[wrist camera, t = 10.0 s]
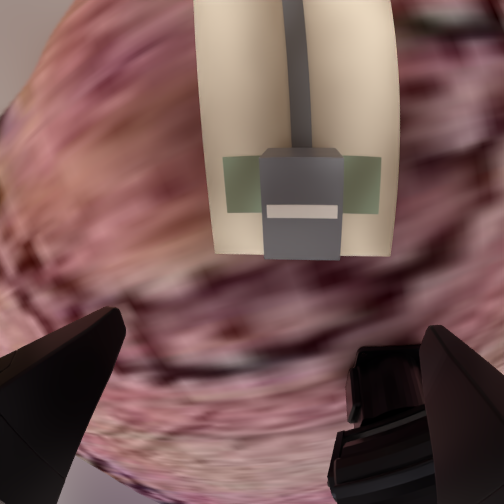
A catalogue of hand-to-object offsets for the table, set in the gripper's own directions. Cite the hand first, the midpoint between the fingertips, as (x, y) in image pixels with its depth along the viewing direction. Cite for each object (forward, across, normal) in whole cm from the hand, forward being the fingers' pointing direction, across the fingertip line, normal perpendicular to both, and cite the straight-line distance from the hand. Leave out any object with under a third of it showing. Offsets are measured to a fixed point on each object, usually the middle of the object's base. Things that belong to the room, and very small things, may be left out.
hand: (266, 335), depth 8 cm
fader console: (+12, -1, -9) cm, 15 cm away
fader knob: (+9, -1, -2) cm, 9 cm away
